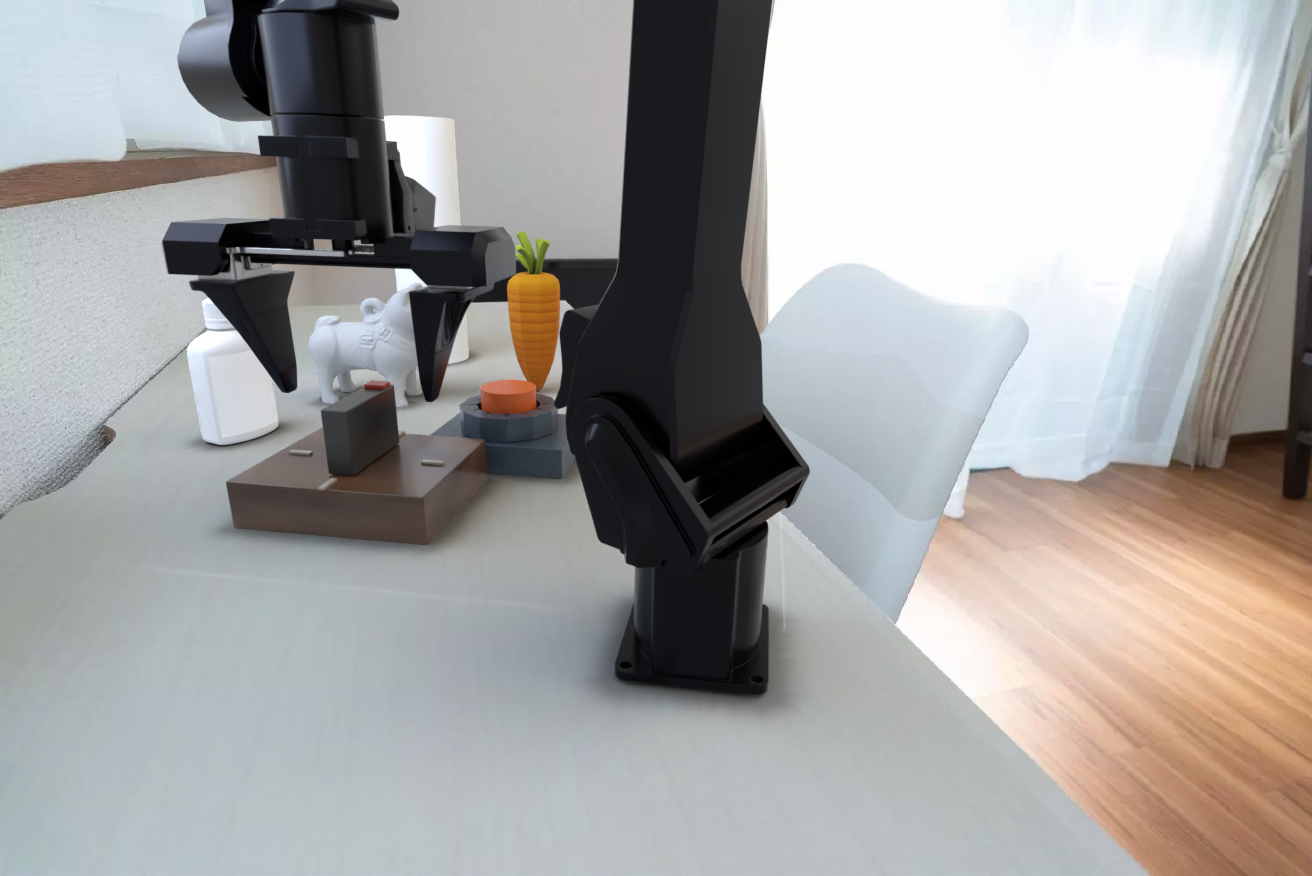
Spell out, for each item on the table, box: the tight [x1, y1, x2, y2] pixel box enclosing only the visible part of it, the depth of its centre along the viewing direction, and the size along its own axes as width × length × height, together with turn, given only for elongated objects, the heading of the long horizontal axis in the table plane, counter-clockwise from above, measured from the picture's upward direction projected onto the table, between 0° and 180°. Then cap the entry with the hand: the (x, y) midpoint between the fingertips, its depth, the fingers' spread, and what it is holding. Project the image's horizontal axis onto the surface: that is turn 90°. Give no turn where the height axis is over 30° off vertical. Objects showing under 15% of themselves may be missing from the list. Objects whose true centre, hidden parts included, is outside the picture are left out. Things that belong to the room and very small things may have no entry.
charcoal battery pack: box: [320, 380, 399, 476], centre depth 47 cm, size 6×2×4 cm, turn 172°
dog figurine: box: [307, 282, 423, 408], centre depth 68 cm, size 5×13×11 cm, turn 87°
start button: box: [479, 379, 537, 414], centre depth 56 cm, size 4×4×2 cm
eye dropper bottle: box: [186, 297, 280, 446], centre depth 58 cm, size 4×6×12 cm
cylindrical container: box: [384, 115, 470, 365], centre depth 81 cm, size 7×7×25 cm
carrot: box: [506, 230, 561, 393], centre depth 71 cm, size 5×5×15 cm
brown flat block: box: [225, 427, 489, 546], centre depth 48 cm, size 10×12×3 cm
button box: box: [430, 392, 576, 480], centre depth 56 cm, size 8×10×4 cm
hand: (360, 395), depth 46 cm, fingers open, 9 cm apart
